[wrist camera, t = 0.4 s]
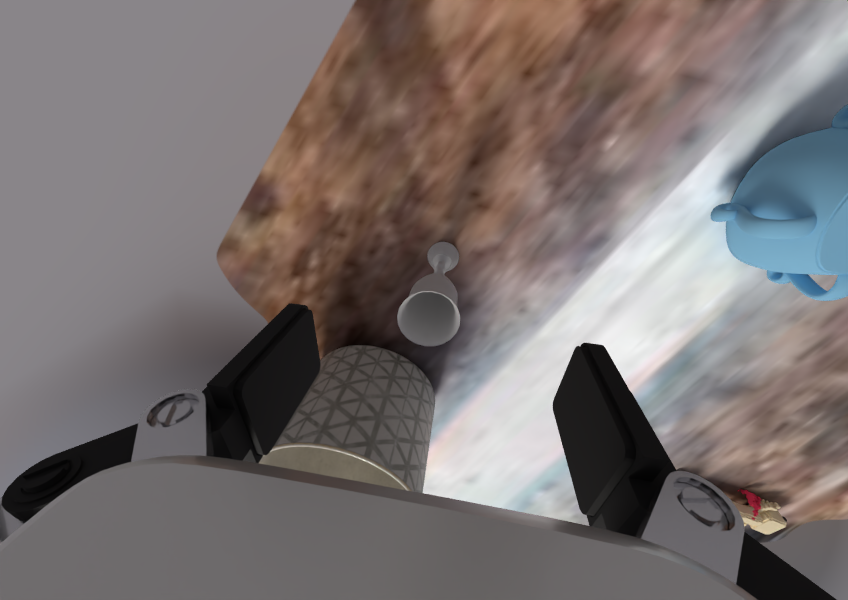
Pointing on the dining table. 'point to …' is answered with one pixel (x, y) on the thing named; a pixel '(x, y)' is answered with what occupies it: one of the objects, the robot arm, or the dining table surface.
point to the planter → (362, 421)
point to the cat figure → (761, 514)
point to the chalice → (432, 301)
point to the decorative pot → (795, 212)
